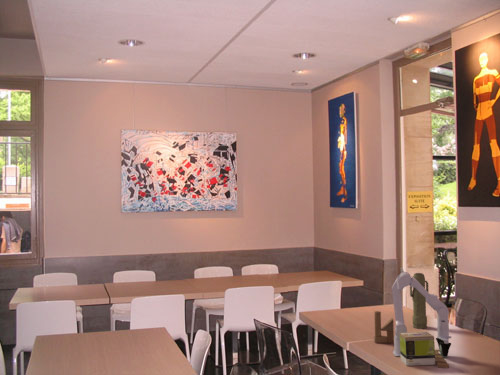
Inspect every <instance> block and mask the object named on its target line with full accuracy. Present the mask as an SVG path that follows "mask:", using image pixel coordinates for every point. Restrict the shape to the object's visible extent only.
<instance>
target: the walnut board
mask: <svg viewBox="0 0 500 375" xmlns="http://www.w3.org/2000/svg"><path fill="white" fill-rule="evenodd" d="M435 365H436V367H437V368H443V369H444V368H445V369H446V368H447V369H449V368H450V364H449V363H448V362H447V360H445V358H443V357H442V356H441V355H440V352H435Z"/></svg>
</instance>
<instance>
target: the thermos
mask: <svg viewBox="0 0 500 375" xmlns="http://www.w3.org/2000/svg"><path fill="white" fill-rule="evenodd" d="M412 277H414V278H415V279H416V280H417V281H418V282H419V283H420V284H421V285H422V286H423V287H424V288H425V289H426V290H427V291H428V292H429V282H428V281H427V280H426V277H425V275H424V273H423V272H422V273H421V272H414V274H413V276H412ZM429 293H430V292H429ZM409 297H411V300H412V308H413V309H412V310H413V311H412V313H413V314H412V328H414V329H417V330H425V329H427V328H428V326H427V325H428V316H427V306H426V305H427V302H426V298H425V297H424V296H423V295H422V294H421V293H420V292H419V291H418V290H417V289H416V288H414V287H410V286H409Z"/></svg>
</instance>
